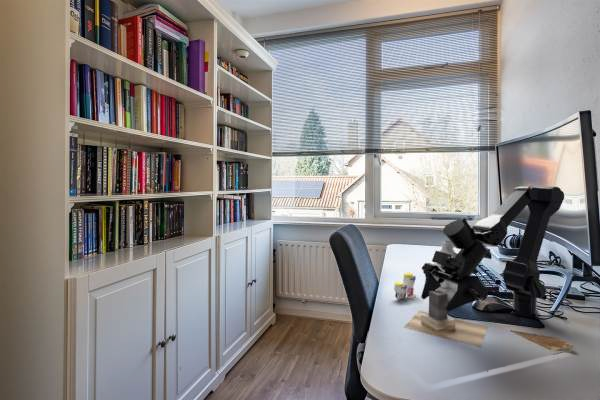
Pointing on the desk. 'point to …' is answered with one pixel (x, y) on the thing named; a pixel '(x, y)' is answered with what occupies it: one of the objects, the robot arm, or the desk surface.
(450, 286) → the plastic bottle
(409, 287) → the toy figures
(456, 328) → the oak board
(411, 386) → the desk surface
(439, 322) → the grey block on base
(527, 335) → the shard
